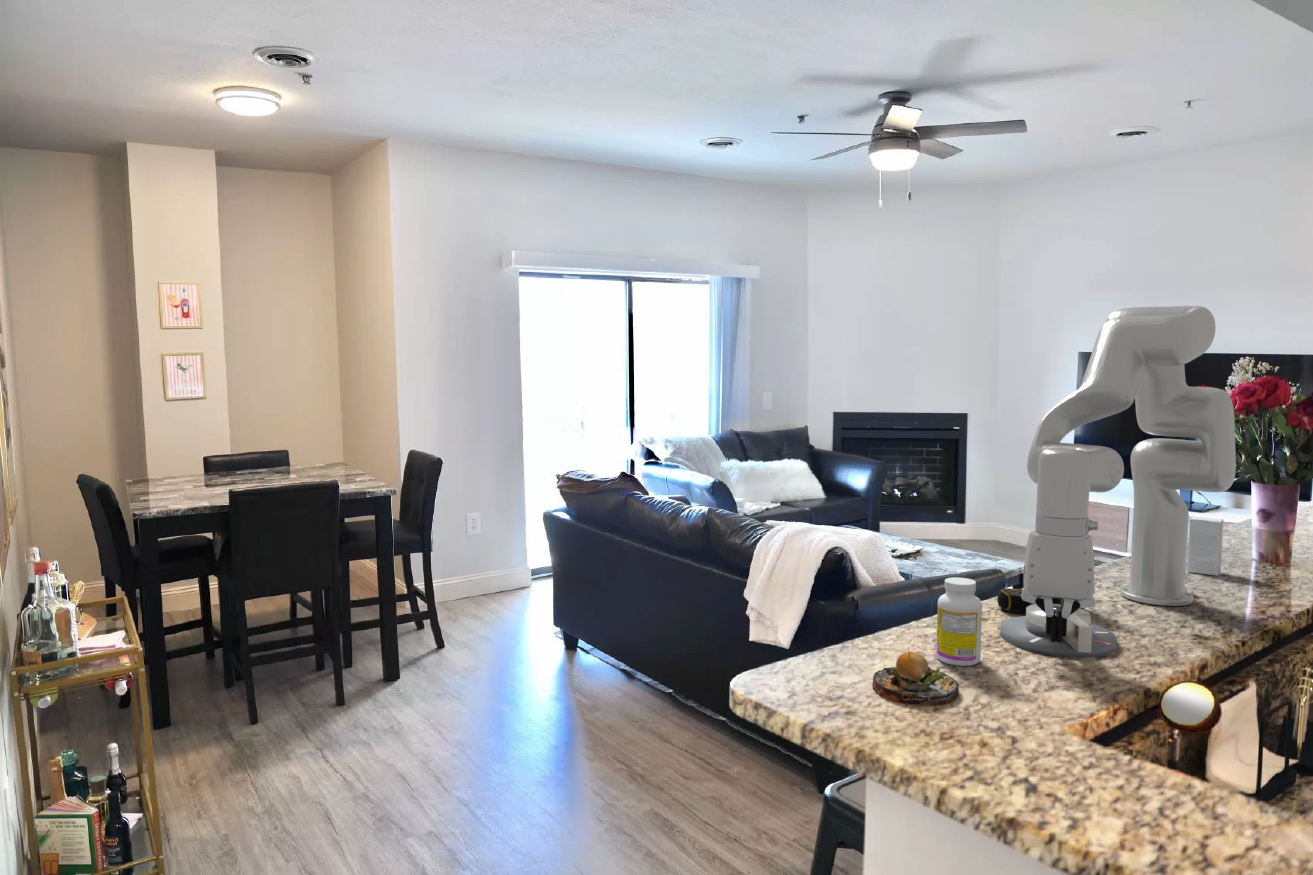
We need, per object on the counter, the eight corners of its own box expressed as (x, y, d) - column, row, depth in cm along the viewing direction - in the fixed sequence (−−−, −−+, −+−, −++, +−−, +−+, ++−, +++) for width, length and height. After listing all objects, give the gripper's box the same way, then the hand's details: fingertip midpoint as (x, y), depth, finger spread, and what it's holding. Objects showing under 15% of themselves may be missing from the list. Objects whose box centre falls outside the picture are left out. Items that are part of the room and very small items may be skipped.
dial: (1017, 619, 157) (1018, 596, 157) (1077, 621, 156) (1078, 598, 156) (1051, 651, 141) (1052, 626, 140) (1117, 653, 140) (1118, 628, 139)
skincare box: (1221, 572, 198) (1224, 519, 197) (1218, 576, 194) (1221, 521, 193) (1189, 568, 201) (1192, 515, 200) (1186, 572, 198) (1189, 518, 197)
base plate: (1033, 617, 165) (1033, 609, 165) (1135, 641, 151) (1135, 633, 151) (979, 637, 153) (979, 628, 153) (1085, 665, 140) (1085, 656, 139)
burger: (975, 696, 128) (977, 645, 127) (918, 714, 122) (919, 661, 121) (910, 671, 138) (912, 624, 137) (854, 686, 132) (855, 637, 131)
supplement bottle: (948, 650, 147) (951, 573, 146) (987, 660, 142) (990, 580, 141) (928, 660, 142) (930, 580, 141) (967, 670, 137) (970, 588, 136)
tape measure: (1044, 615, 167) (1045, 595, 166) (1011, 617, 165) (1012, 597, 165) (1020, 604, 173) (1021, 585, 173) (989, 607, 172) (990, 588, 171)
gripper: (1109, 525, 143) (1103, 638, 145) (1009, 519, 148) (1004, 628, 149) (1117, 534, 136) (1110, 652, 138) (1011, 527, 141) (1006, 641, 142)
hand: (1055, 639), depth 143 cm, fingers closed
